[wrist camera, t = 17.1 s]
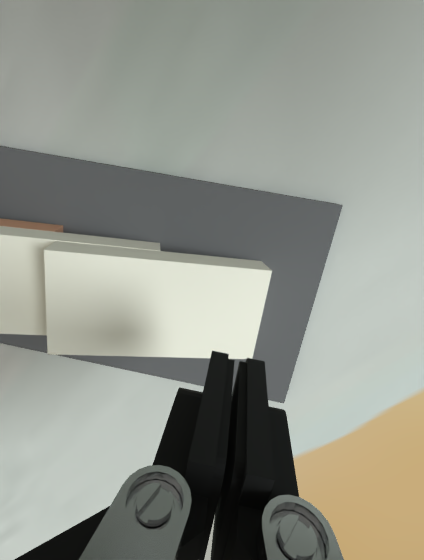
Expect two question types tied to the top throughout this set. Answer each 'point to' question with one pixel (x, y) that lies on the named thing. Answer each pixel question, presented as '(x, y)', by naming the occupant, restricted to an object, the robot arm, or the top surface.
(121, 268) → the domino
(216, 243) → the mat
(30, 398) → the top surface
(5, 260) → the domino
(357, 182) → the top surface
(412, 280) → the top surface
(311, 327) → the top surface
